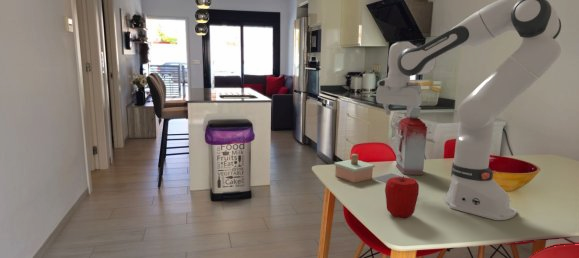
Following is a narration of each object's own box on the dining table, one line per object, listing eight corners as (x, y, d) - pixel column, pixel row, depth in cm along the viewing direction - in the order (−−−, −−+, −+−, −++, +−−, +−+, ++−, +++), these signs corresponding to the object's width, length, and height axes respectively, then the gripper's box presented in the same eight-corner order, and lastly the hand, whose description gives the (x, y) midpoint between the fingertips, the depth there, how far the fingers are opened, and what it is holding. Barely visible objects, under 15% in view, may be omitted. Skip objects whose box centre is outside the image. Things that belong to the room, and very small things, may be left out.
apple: (408, 208, 129) (411, 170, 127) (422, 221, 119) (426, 180, 117) (378, 209, 128) (381, 171, 125) (390, 222, 118) (393, 181, 115)
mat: (416, 182, 158) (416, 181, 158) (397, 188, 150) (397, 186, 150) (391, 174, 168) (391, 173, 168) (372, 179, 160) (372, 178, 160)
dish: (372, 179, 160) (372, 167, 159) (353, 184, 154) (354, 171, 153) (353, 173, 169) (353, 161, 168) (335, 177, 162) (335, 165, 161)
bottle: (425, 176, 166) (431, 109, 160) (401, 176, 166) (406, 108, 160) (415, 167, 180) (420, 105, 175) (393, 167, 180) (398, 104, 175)
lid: (374, 167, 159) (375, 155, 158) (354, 171, 152) (355, 159, 151) (353, 161, 168) (354, 150, 167) (334, 165, 161) (334, 153, 160)
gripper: (425, 82, 148) (424, 117, 150) (383, 81, 164) (382, 113, 166) (416, 83, 144) (414, 119, 146) (374, 81, 160) (373, 114, 162)
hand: (397, 115), depth 156 cm, fingers open, 8 cm apart
